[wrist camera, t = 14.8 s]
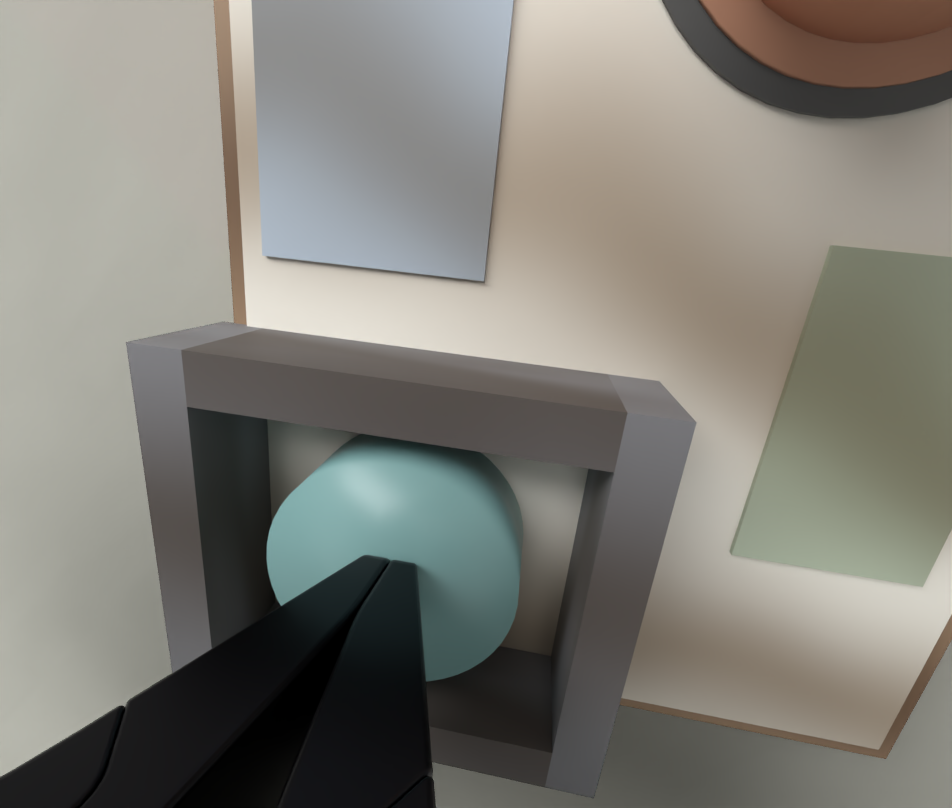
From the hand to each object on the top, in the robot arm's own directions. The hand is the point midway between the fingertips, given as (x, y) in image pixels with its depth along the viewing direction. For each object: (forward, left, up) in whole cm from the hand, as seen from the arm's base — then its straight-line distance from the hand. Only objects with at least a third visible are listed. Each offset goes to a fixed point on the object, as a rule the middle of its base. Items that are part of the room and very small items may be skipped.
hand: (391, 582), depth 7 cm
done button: (0, 0, -1) cm, 1 cm away
